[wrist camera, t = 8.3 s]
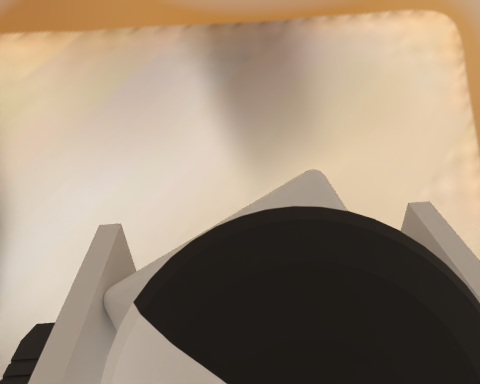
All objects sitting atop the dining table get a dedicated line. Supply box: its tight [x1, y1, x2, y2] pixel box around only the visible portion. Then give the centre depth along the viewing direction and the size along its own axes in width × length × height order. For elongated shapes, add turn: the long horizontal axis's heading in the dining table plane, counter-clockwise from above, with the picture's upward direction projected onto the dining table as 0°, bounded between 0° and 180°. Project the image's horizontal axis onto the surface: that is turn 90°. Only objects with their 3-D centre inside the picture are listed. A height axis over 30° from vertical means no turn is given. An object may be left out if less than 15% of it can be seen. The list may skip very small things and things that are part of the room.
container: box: [101, 169, 480, 384], centre depth 11 cm, size 8×8×13 cm
